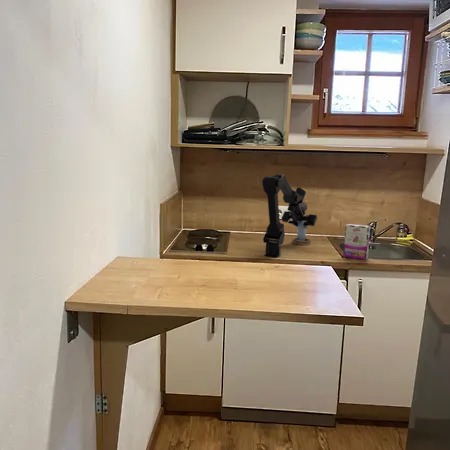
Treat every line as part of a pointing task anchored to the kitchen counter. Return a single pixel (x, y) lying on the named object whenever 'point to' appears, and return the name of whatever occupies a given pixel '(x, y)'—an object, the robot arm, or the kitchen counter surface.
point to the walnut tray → (298, 242)
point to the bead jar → (301, 231)
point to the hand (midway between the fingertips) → (302, 227)
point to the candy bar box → (356, 241)
